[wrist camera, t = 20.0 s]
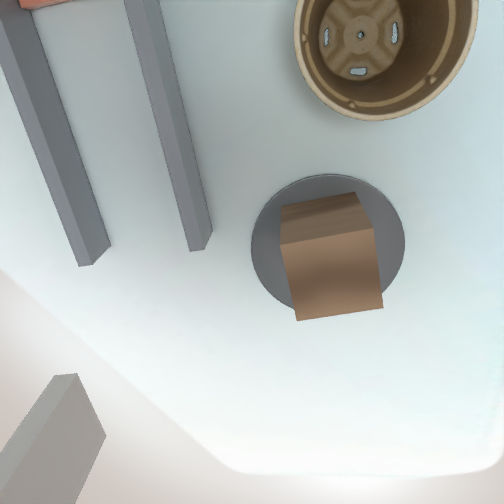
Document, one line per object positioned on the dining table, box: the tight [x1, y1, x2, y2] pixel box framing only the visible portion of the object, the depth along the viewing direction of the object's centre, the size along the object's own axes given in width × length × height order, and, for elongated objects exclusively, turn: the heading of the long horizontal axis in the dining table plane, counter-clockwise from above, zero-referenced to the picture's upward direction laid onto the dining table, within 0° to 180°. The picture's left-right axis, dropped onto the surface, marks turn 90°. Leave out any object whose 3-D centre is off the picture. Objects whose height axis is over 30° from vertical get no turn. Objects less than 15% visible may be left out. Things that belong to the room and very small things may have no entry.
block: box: [280, 192, 383, 321], centre depth 32 cm, size 6×6×8 cm
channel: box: [0, 0, 212, 267], centre depth 30 cm, size 24×11×5 cm, turn 10°
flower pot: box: [294, 0, 478, 121], centre depth 26 cm, size 9×9×9 cm
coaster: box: [251, 174, 405, 309], centre depth 36 cm, size 13×13×1 cm
